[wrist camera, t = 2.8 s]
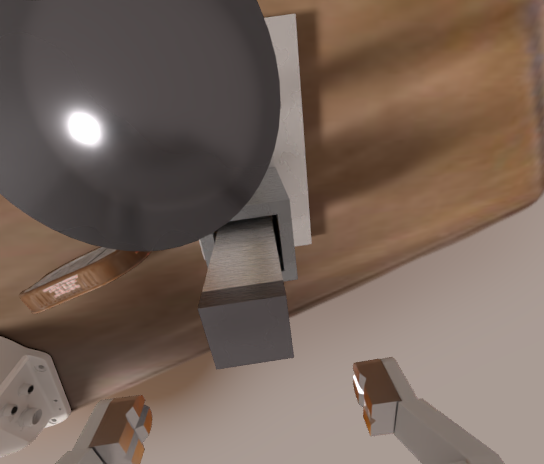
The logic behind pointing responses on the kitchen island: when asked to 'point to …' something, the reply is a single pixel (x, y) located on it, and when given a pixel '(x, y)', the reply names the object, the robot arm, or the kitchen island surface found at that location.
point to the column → (245, 296)
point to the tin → (80, 277)
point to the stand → (153, 121)
